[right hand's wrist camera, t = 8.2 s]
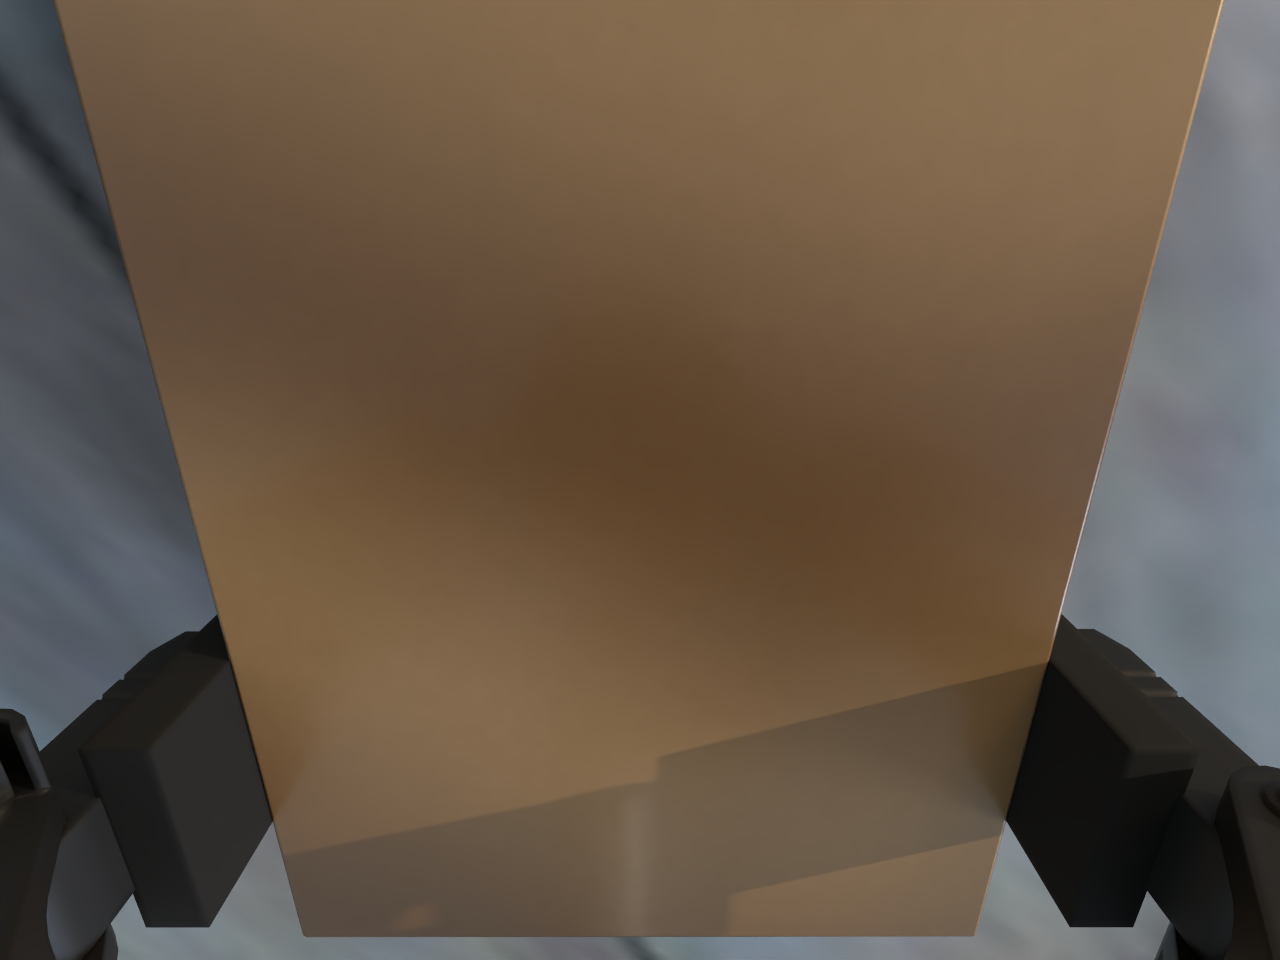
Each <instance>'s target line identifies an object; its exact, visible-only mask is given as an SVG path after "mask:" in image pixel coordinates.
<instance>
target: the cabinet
mask: <svg viewBox="0 0 1280 960" xmlns="http://www.w3.org/2000/svg"><path fill="white" fill-rule="evenodd" d="M53 1H54V5H55V9H56V13H57V16H58V20H59V24H60V28H61V31H62V35H63V39H64V43H65V46H66V50H67V54H68V57H69V61H70V65H71V69H72V72H73V76H74V80H75V84H76V87H77V91H78V95H79V99H80V102H81V106H82V110H83V114H84V117H85V121H86V125H87V129H88V132H89V136H90V140H91V143H92V147H93V151H94V155H95V158H96V162H97V166H98V170H99V173H100V177H101V181H102V185H103V188H104V192H105V196H106V200H107V203H108V207H109V211H110V214H111V218H112V222H113V226H114V229H115V233H116V237H117V241H118V244H119V248H120V252H121V256H122V259H123V263H124V267H125V271H126V274H127V278H128V282H129V286H130V289H131V293H132V297H133V300H134V304H135V308H136V312H137V315H138V319H139V323H140V327H141V330H142V334H143V338H144V342H145V345H146V349H147V353H148V357H149V360H150V364H151V368H152V371H153V375H154V379H155V383H156V386H157V390H158V394H159V398H160V401H161V405H162V409H163V413H164V416H165V420H166V424H167V428H168V431H169V435H170V439H171V443H172V446H173V450H174V454H175V457H176V461H177V465H178V469H179V472H180V476H181V480H182V484H183V487H184V491H185V495H186V499H187V502H188V506H189V510H190V514H191V517H192V521H193V525H194V528H195V532H196V536H197V540H198V543H199V547H200V551H201V555H202V558H203V562H204V566H205V570H206V573H207V577H208V581H209V585H210V588H211V592H212V596H213V600H214V603H215V607H216V611H217V614H218V618H219V622H220V626H221V629H222V633H223V637H224V641H225V644H226V648H227V652H228V656H229V659H230V663H231V667H232V671H233V674H234V678H235V682H236V685H237V689H238V693H239V697H240V700H241V704H242V708H243V712H244V715H245V719H246V723H247V727H248V730H249V734H250V738H251V742H252V745H253V749H254V753H255V757H256V760H257V764H258V768H259V771H260V775H261V779H262V783H263V786H264V790H265V794H266V798H267V801H268V805H269V809H270V813H271V816H272V820H273V824H274V828H275V831H276V835H277V839H278V842H279V846H280V850H281V854H282V857H283V861H284V865H285V869H286V872H287V876H288V880H289V884H290V887H291V891H292V895H293V899H294V902H295V906H296V910H297V914H298V917H299V921H300V925H301V928H302V932H303V935H304V936H306V937H787V936H974V935H976V932H977V929H978V925H979V921H980V917H981V914H982V910H983V906H984V902H985V899H986V895H987V891H988V887H989V884H990V880H991V876H992V872H993V868H994V865H995V861H996V857H997V853H998V850H999V846H1000V842H1001V838H1002V835H1003V831H1004V827H1005V823H1006V820H1007V816H1008V812H1009V808H1010V805H1011V801H1012V797H1013V793H1014V790H1015V786H1016V782H1017V778H1018V775H1019V771H1020V767H1021V763H1022V760H1023V756H1024V752H1025V748H1026V745H1027V741H1028V737H1029V733H1030V729H1031V726H1032V722H1033V718H1034V714H1035V711H1036V707H1037V703H1038V699H1039V696H1040V692H1041V688H1042V684H1043V681H1044V677H1045V673H1046V669H1047V666H1048V662H1049V658H1050V654H1051V651H1052V647H1053V643H1054V639H1055V636H1056V632H1057V628H1058V624H1059V621H1060V617H1061V613H1062V609H1063V605H1064V602H1065V598H1066V594H1067V590H1068V587H1069V583H1070V579H1071V575H1072V572H1073V568H1074V564H1075V560H1076V557H1077V553H1078V549H1079V545H1080V542H1081V538H1082V534H1083V530H1084V527H1085V523H1086V519H1087V515H1088V512H1089V508H1090V504H1091V500H1092V497H1093V493H1094V489H1095V485H1096V482H1097V478H1098V474H1099V470H1100V466H1101V463H1102V459H1103V455H1104V451H1105V448H1106V444H1107V440H1108V436H1109V433H1110V429H1111V425H1112V421H1113V418H1114V414H1115V410H1116V406H1117V403H1118V399H1119V395H1120V391H1121V388H1122V384H1123V380H1124V376H1125V373H1126V369H1127V365H1128V361H1129V358H1130V354H1131V350H1132V346H1133V343H1134V339H1135V335H1136V331H1137V327H1138V324H1139V320H1140V316H1141V312H1142V309H1143V305H1144V301H1145V297H1146V294H1147V290H1148V286H1149V282H1150V279H1151V275H1152V271H1153V267H1154V264H1155V260H1156V256H1157V252H1158V249H1159V245H1160V241H1161V237H1162V234H1163V230H1164V226H1165V222H1166V219H1167V215H1168V211H1169V207H1170V204H1171V200H1172V196H1173V192H1174V188H1175V185H1176V181H1177V177H1178V173H1179V170H1180V166H1181V162H1182V158H1183V155H1184V151H1185V147H1186V143H1187V140H1188V136H1189V132H1190V128H1191V125H1192V121H1193V117H1194V113H1195V110H1196V106H1197V102H1198V98H1199V95H1200V91H1201V87H1202V83H1203V80H1204V76H1205V72H1206V68H1207V64H1208V61H1209V57H1210V53H1211V49H1212V46H1213V42H1214V38H1215V34H1216V31H1217V27H1218V23H1219V19H1220V16H1221V12H1222V8H1223V4H1224V1H1225V0H53Z"/></svg>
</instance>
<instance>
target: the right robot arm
mask: <svg viewBox="0 0 1280 960" xmlns="http://www.w3.org/2000/svg"><path fill="white" fill-rule="evenodd" d="M124 676H125V677H124V680H118V681H117V682H116V683H115V684H114V685H113V686H112V687H111V688H110V689H108V690H107V691H106V692H105V693H104V694H103V698H102V700H96V701H95V702H94V703H93V704H92V705H91V706H90V707H89V708H87V709H86V710H85V711H84V712H83V713H82V714H81V715H80V716H79V717H78V718H76V719H75V720H74V721H73V722H72V723H71V724H70V725H69V726H68V727H67V728H65V729H64V730H63V731H62V732H61V733H60V734H59V735H58V736H57V737H55V738H54V739H53V740H52V741H51V742H50V743H49V744H48V745H47V746H46V747H44V748H43V749H42V750H41V751H40V752H39V749H38V747H37V744H36V742H35V740H34V737H33V735H32V732H31V730H30V727H29V725H28V723H27V720H26V718H25V716H24V715H22V714H20V713H18V712H16V711H15V710H13V709H0V960H117V956H118V947H117V942H116V936H115V933H114V931H113V928H112V926H111V922H112V921H113V919H114V918H115V917H116V915H117V914H118V913H119V911H120V910H121V908H122V907H123V906H124V904H125V903H126V902H127V900H128V899H129V898H130V896H131V895H132V894H133V895H134V897H135V900H136V903H137V905H138V908H139V910H140V913H141V915H142V918H143V921H144V923H145V926H146V927H210V925H211V923H212V922H213V920H214V918H215V917H216V915H217V913H218V912H219V910H220V908H221V907H222V905H223V903H224V902H225V900H226V898H227V897H228V895H229V893H230V892H231V890H232V888H233V887H234V885H235V883H236V882H237V880H238V878H239V877H240V875H241V873H242V872H243V870H244V868H245V867H246V865H247V863H248V862H249V860H250V858H251V857H252V855H253V853H254V852H255V850H256V848H257V847H258V845H259V843H260V842H261V840H262V838H263V837H264V835H265V833H266V832H267V830H268V828H269V827H270V825H271V823H272V822H273V820H272V816H271V813H270V809H269V805H268V801H267V798H266V794H265V790H264V786H263V783H262V779H261V775H260V771H259V768H258V764H257V760H256V757H255V753H254V749H253V745H252V742H251V738H250V734H249V730H248V727H247V723H246V719H245V715H244V712H243V708H242V704H241V700H240V697H239V693H238V689H237V685H236V682H235V678H234V674H233V671H232V667H231V663H230V659H229V656H228V652H227V648H226V644H225V641H224V637H223V633H222V629H221V626H220V622H219V618H218V614H217V615H216V616H215V617H214V618H213V619H212V620H211V621H210V622H209V623H208V624H207V625H206V626H205V627H204V628H203V629H202V630H201V631H200V632H184V633H182V634H180V635H179V636H177V637H175V638H173V639H172V640H170V641H168V642H166V643H165V644H163V645H161V646H159V647H157V648H156V649H154V650H152V651H150V652H149V653H148V654H147V655H146V656H145V657H144V658H143V659H142V660H140V661H139V662H138V663H137V664H136V665H135V666H134V667H133V668H132V669H131V670H129V671H128V672H127V673H126V674H125V675H124ZM1006 821H1007V823H1008V824H1009V826H1010V828H1011V829H1012V831H1013V833H1014V834H1015V836H1016V838H1017V839H1018V841H1019V843H1020V844H1021V846H1022V848H1023V849H1024V851H1025V853H1026V854H1027V856H1028V858H1029V860H1030V861H1031V863H1032V865H1033V866H1034V868H1035V870H1036V871H1037V873H1038V875H1039V876H1040V878H1041V880H1042V881H1043V883H1044V885H1045V886H1046V888H1047V890H1048V891H1049V893H1050V895H1051V896H1052V898H1053V900H1054V901H1055V903H1056V905H1057V906H1058V908H1059V910H1060V911H1061V913H1062V915H1063V916H1064V918H1065V920H1066V921H1067V923H1068V925H1069V926H1070V927H1133V926H1134V923H1135V921H1136V918H1137V916H1138V913H1139V910H1140V908H1141V905H1142V903H1143V900H1144V897H1145V895H1146V892H1147V891H1148V892H1149V894H1150V895H1151V896H1152V898H1153V899H1154V900H1155V902H1156V903H1157V904H1158V906H1159V907H1160V908H1161V910H1162V911H1163V912H1164V914H1165V915H1166V916H1167V918H1168V919H1169V920H1170V923H1169V926H1168V928H1167V931H1166V933H1165V936H1164V938H1163V940H1162V943H1161V945H1160V948H1159V950H1158V953H1157V955H1156V957H1155V960H1280V769H1279V768H1274V767H1269V766H1259V765H1258V764H1257V763H1255V762H1254V761H1253V760H1252V759H1251V758H1250V757H1249V756H1248V755H1247V754H1245V753H1244V752H1243V751H1242V750H1241V749H1240V748H1239V747H1238V746H1237V745H1235V744H1234V743H1233V742H1232V741H1231V740H1230V739H1229V738H1228V737H1227V736H1225V735H1224V734H1223V733H1222V732H1221V731H1220V730H1219V729H1218V728H1217V727H1215V726H1214V725H1213V724H1212V723H1211V722H1210V721H1209V720H1208V719H1207V718H1205V717H1204V716H1203V715H1202V714H1201V713H1200V712H1199V711H1198V710H1197V709H1195V708H1194V707H1193V706H1192V705H1191V704H1190V703H1189V702H1188V701H1187V700H1185V699H1184V698H1183V697H1178V696H1177V691H1175V690H1174V689H1173V688H1172V687H1171V686H1170V685H1169V684H1168V683H1167V682H1165V681H1164V680H1163V679H1162V678H1161V677H1156V675H1155V672H1154V671H1153V670H1152V669H1151V668H1150V667H1149V666H1148V665H1147V664H1145V663H1144V662H1143V661H1142V660H1141V659H1140V658H1139V657H1138V656H1137V655H1135V654H1134V653H1133V652H1132V651H1131V650H1130V649H1128V648H1127V647H1125V646H1123V645H1121V644H1120V643H1118V642H1116V641H1114V640H1112V639H1111V638H1109V637H1107V636H1105V635H1104V634H1102V633H1100V632H1098V631H1096V630H1095V629H1077V628H1076V627H1074V626H1073V625H1072V624H1071V623H1070V622H1069V621H1068V620H1067V619H1066V618H1065V617H1064V616H1063V615H1062V614H1061V617H1060V621H1059V624H1058V628H1057V632H1056V636H1055V639H1054V643H1053V647H1052V651H1051V654H1050V658H1049V662H1048V666H1047V669H1046V673H1045V677H1044V681H1043V684H1042V688H1041V692H1040V696H1039V699H1038V703H1037V707H1036V711H1035V714H1034V718H1033V722H1032V726H1031V729H1030V733H1029V737H1028V741H1027V745H1026V748H1025V752H1024V756H1023V760H1022V763H1021V767H1020V771H1019V775H1018V778H1017V782H1016V786H1015V790H1014V793H1013V797H1012V801H1011V805H1010V808H1009V812H1008V816H1007V820H1006Z"/></svg>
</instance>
